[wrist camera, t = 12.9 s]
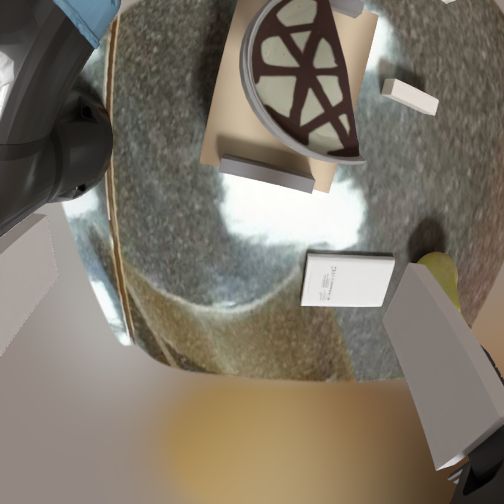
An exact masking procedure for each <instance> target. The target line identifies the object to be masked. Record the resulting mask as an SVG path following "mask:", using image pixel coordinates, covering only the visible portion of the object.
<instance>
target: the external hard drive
mask: <svg viewBox="0 0 504 504" xmlns="http://www.w3.org/2000/svg"><path fill="white" fill-rule="evenodd" d="M394 264H395V259H394V258H393V257H385V256H361V255H338V254H315V253H308V255H307V262H306V269H305V279H304V283H303V289H302V295H301V302H300V303H301V306H353V307H374V306H381V305H382V303H383V300H384V297H385V294H386V291H387V287H388V284H389V281H390V278H391V275H392V271H393V268H394Z"/></svg>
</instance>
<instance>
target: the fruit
mask: <svg viewBox="0 0 504 504" xmlns="http://www.w3.org/2000/svg"><path fill="white" fill-rule="evenodd" d="M416 264H422V265H425V266H426V267H427V269H428V270H429V271H430V272H431V274H432V275H433V276H434V278H435V279H436V280H437V282H438V283H439V285H440V286H441V287H442V289H443V290H444V291H445V293H446V294H447V296H448V297H449V298H450V300H451V301H452V303H453V304H454V306H455V307H456V309H457V310H458V311H459V313H460V314H461V311H460V303H459V297H458V292H457V281H458V272H457V268H456V265H455V263H454V261H453V259H452V258H451V257H450V256H448V255H447V254H444V253H442V252H432V253H428V254H426V255H424V256H423V257H422V258H421V259H420V260H419V261H418V262H417V263H416ZM461 316H462V317H463V315H462V314H461ZM463 319H464V317H463ZM464 320H465V319H464ZM465 322H466V320H465ZM466 323H467V322H466ZM467 325H468V327H469V328H470V329H471V328H472V326H471V325H469V324H468V323H467Z"/></svg>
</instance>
